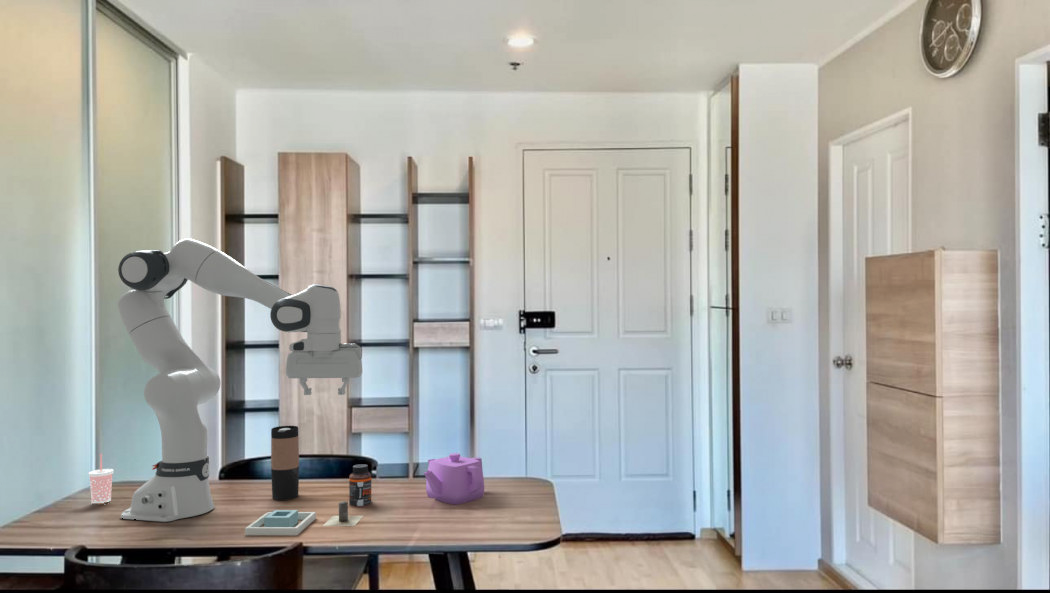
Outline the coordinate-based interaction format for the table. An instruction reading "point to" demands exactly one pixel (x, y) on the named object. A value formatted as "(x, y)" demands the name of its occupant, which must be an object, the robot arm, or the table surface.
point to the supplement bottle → (360, 486)
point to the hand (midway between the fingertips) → (324, 394)
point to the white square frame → (257, 530)
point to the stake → (343, 517)
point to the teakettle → (455, 479)
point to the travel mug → (285, 462)
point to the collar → (281, 518)
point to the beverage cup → (101, 484)
